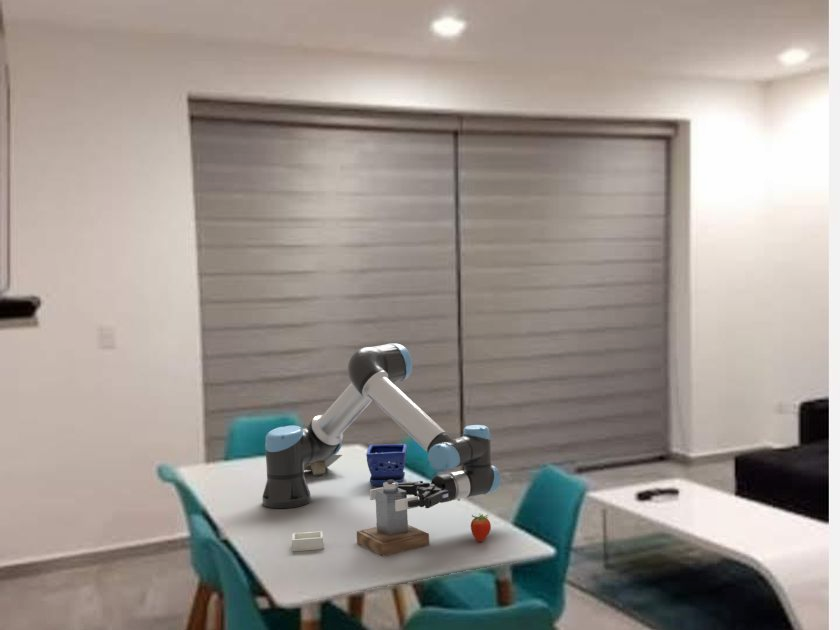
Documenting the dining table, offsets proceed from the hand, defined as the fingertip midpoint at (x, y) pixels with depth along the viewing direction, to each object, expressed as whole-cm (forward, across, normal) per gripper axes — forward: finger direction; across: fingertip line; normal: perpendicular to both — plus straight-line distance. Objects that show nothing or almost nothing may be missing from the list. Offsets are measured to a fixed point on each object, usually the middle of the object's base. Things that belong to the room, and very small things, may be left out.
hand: (382, 500), depth 232 cm
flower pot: (-34, +58, -12) cm, 68 cm away
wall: (-20, +85, -13) cm, 88 cm away
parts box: (+16, +12, -12) cm, 24 cm away
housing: (-3, 0, -9) cm, 9 cm away
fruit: (-22, -13, -12) cm, 28 cm away
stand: (-3, 0, -12) cm, 12 cm away
